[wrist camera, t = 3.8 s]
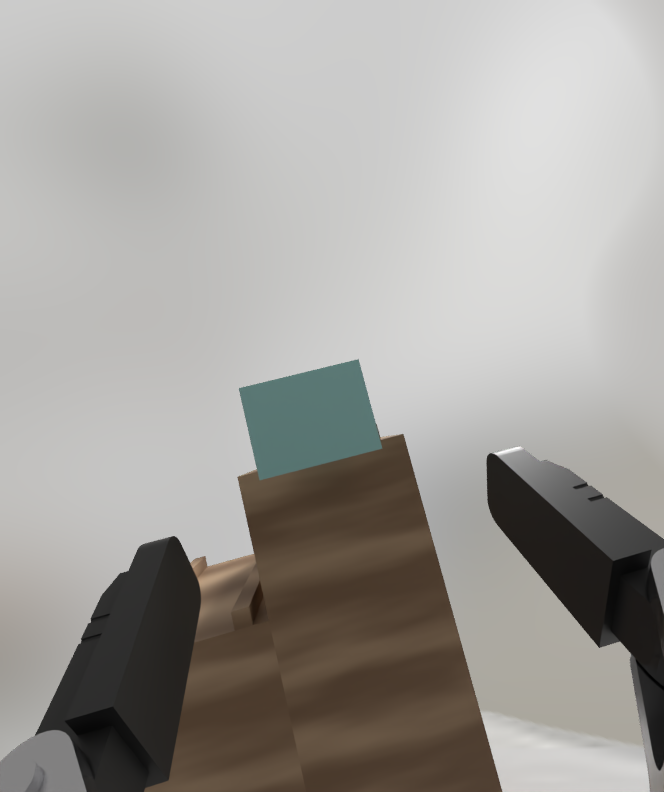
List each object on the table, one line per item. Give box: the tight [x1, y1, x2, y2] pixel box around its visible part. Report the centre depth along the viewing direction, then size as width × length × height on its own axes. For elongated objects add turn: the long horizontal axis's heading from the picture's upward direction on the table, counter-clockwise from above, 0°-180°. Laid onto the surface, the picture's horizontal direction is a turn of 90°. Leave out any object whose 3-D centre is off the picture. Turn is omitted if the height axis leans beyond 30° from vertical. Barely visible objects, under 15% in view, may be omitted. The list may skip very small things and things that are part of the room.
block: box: [239, 360, 382, 480], centre depth 25 cm, size 26×4×3 cm, turn 2°
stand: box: [144, 424, 502, 792], centre depth 27 cm, size 16×20×33 cm
